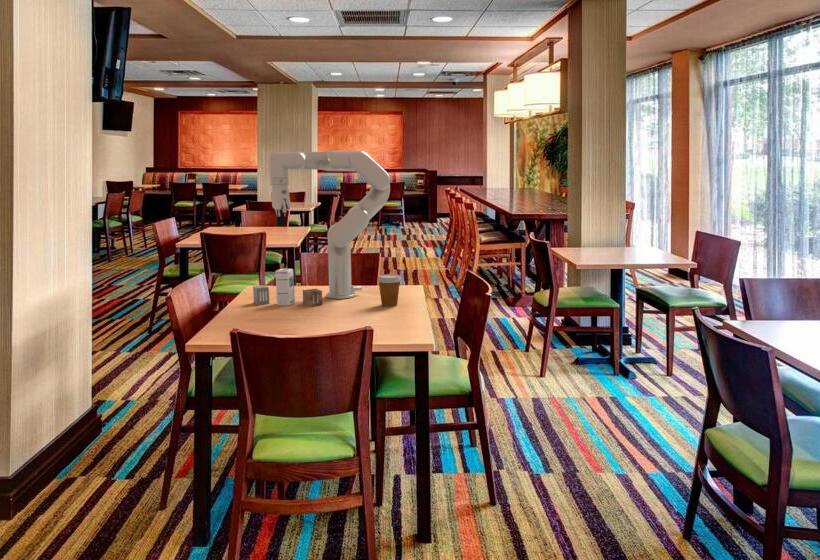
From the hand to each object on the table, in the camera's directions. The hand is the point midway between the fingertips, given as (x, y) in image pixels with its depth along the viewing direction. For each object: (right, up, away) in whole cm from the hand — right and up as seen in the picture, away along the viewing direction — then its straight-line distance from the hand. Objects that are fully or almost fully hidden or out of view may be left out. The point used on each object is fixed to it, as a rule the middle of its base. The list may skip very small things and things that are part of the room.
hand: (281, 225), depth 306 cm
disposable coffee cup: (+46, -33, -12) cm, 58 cm away
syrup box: (+3, -33, -8) cm, 34 cm away
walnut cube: (+15, -33, -9) cm, 37 cm away
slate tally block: (-7, -33, -6) cm, 34 cm away
